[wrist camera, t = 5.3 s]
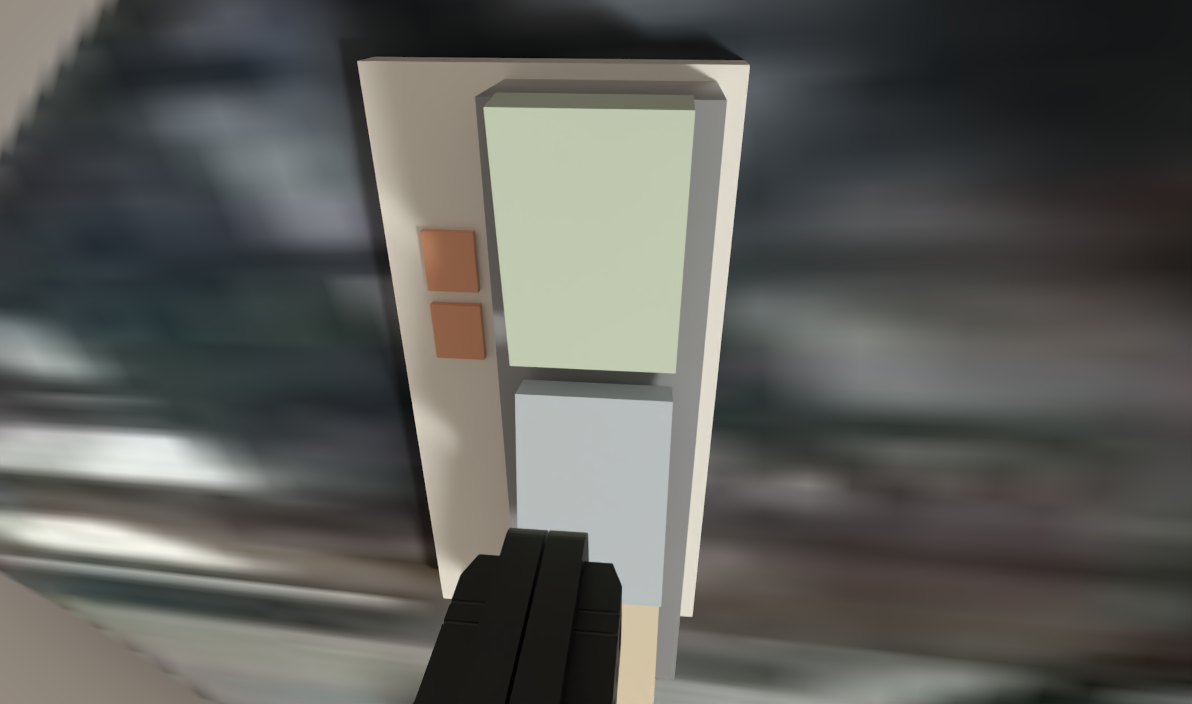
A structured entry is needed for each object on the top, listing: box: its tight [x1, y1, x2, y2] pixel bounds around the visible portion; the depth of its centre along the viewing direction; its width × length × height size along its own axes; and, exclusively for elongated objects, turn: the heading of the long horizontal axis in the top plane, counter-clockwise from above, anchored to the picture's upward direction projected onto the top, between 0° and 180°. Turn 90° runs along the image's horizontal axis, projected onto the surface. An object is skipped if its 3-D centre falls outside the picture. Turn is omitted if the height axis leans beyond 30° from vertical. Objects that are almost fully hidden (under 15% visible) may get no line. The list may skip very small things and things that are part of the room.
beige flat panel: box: [617, 604, 659, 704], centre depth 28 cm, size 8×5×2 cm, turn 0°
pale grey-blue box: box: [515, 379, 673, 607], centre depth 23 cm, size 8×5×2 cm, turn 0°
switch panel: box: [357, 57, 750, 681], centre depth 27 cm, size 26×13×6 cm, turn 0°
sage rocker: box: [483, 92, 695, 374], centre depth 19 cm, size 8×5×2 cm, turn 0°
